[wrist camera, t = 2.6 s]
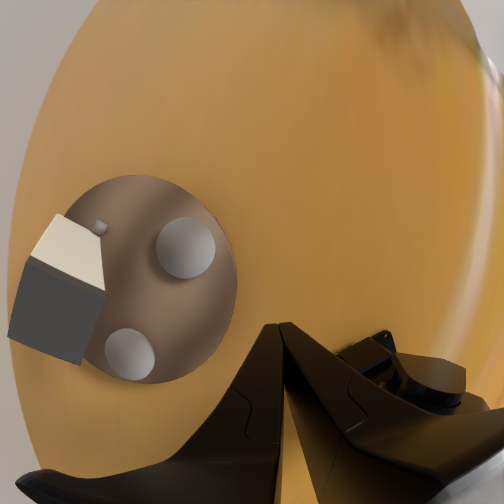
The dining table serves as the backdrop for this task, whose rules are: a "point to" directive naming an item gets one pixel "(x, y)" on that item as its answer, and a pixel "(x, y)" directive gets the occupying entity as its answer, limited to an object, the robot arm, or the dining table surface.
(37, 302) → the folding leg
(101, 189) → the stool seat
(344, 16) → the dining table surface
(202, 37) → the dining table surface
